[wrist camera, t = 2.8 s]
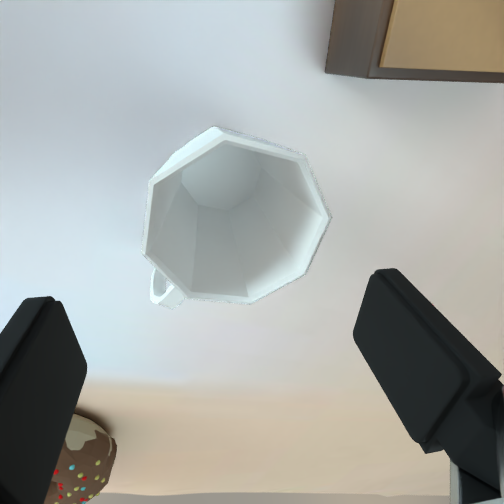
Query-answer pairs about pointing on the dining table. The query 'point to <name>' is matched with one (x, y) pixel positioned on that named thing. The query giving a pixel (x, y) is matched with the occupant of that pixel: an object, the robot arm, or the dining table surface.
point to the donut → (82, 463)
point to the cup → (231, 220)
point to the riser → (418, 40)
